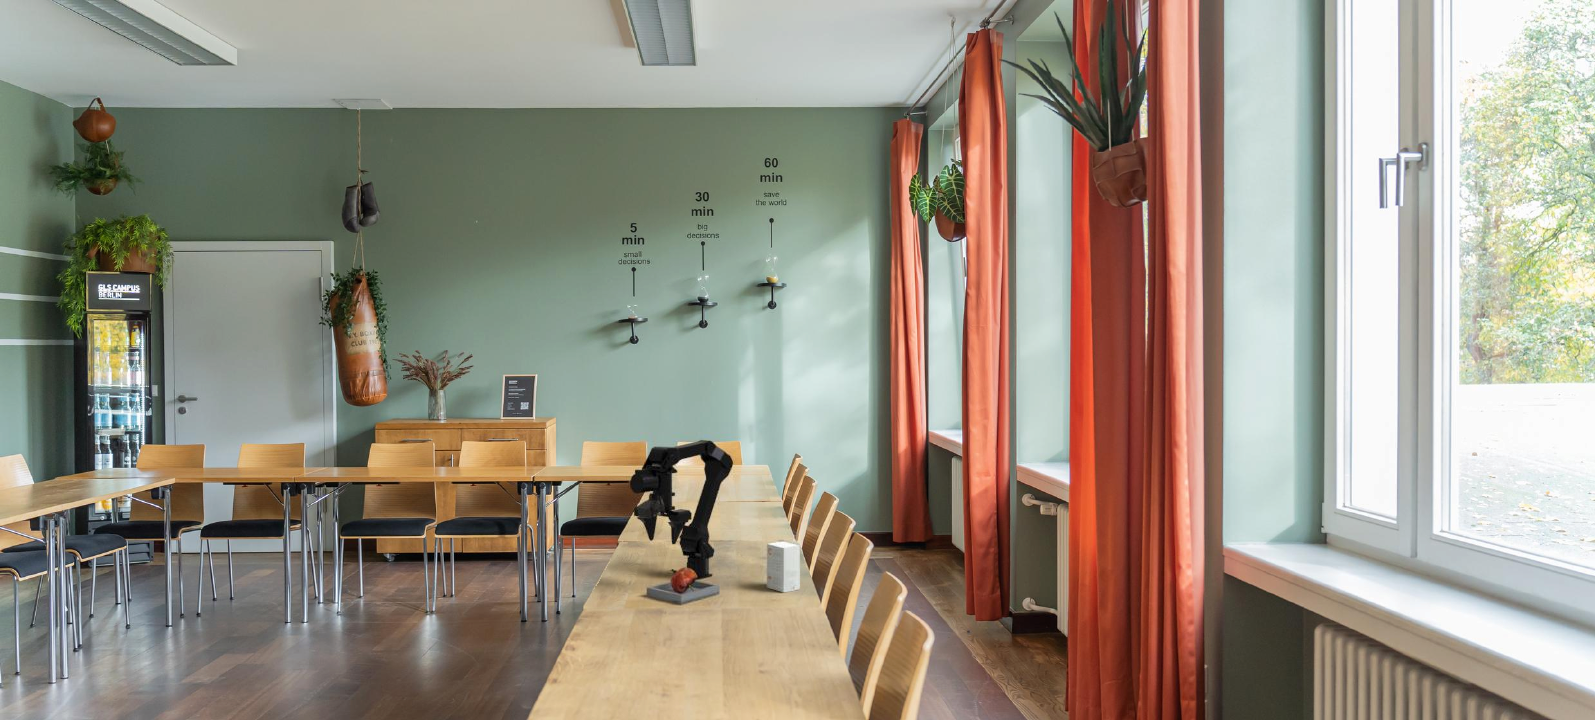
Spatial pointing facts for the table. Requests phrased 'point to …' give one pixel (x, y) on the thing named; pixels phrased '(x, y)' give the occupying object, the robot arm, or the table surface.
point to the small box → (783, 566)
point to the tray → (670, 595)
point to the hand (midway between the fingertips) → (662, 542)
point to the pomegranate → (682, 579)
